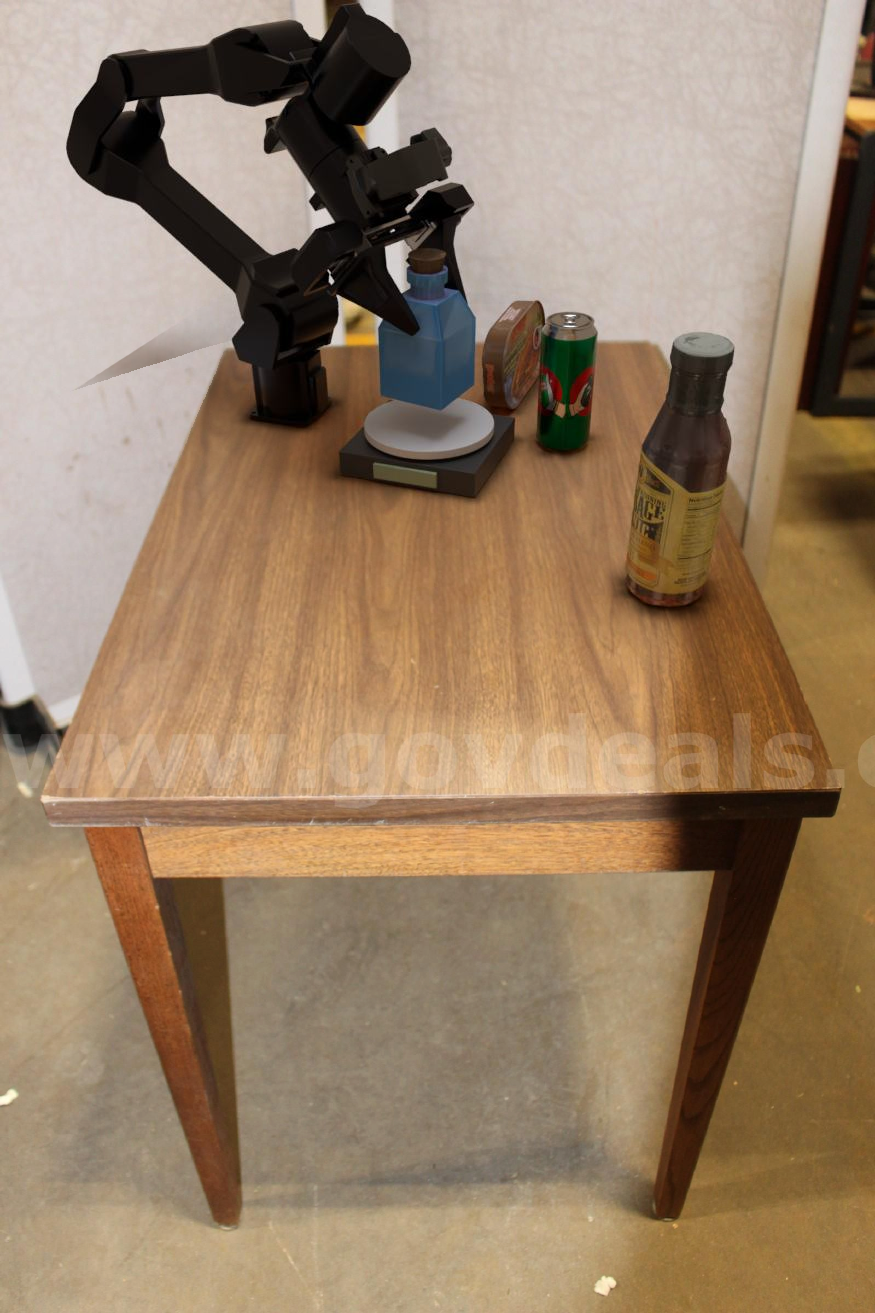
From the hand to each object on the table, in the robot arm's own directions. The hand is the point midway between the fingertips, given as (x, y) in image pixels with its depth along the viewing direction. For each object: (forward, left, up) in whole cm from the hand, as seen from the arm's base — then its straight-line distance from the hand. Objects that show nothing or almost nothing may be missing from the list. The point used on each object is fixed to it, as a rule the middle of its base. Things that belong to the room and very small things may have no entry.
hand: (440, 321), depth 91 cm
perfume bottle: (-1, 0, -7) cm, 7 cm away
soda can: (+9, +8, -14) cm, 18 cm away
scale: (-2, +1, -13) cm, 14 cm away
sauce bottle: (+23, -14, -14) cm, 31 cm away
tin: (+1, +18, -14) cm, 22 cm away
